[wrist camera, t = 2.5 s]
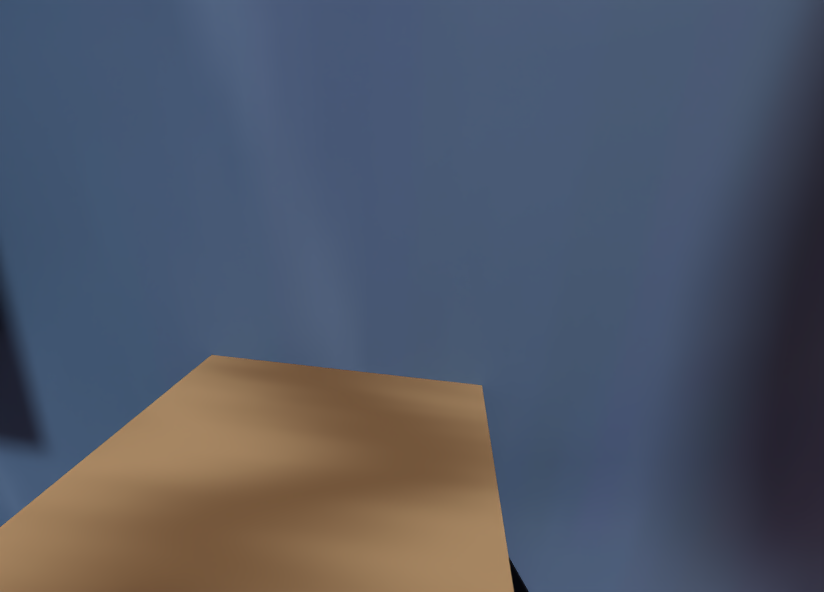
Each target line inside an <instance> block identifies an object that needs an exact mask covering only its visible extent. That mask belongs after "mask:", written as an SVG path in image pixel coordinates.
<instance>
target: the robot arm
mask: <svg viewBox="0 0 824 592" xmlns="http://www.w3.org/2000/svg"><path fill="white" fill-rule="evenodd" d="M508 557H509V556H508ZM509 564H510V570H511V576H512V583H513V589H514V592H528V590H527V588H526V586H525V584H524V583H523V581H522V579H521V577H520V576H519V574H518V572H517V570H516V569H515V567H514V565H513V563H512V562H511V560H510V558H509Z"/></svg>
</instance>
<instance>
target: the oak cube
mask: <svg viewBox="0 0 824 592" xmlns="http://www.w3.org/2000/svg"><path fill="white" fill-rule="evenodd" d="M0 592H514V589H513V583H512V576H511V570H510V564H509V557H508V551H507V544H506V538H505V531H504V525H503V519H502V512H501V506H500V499H499V493H498V486H497V480H496V474H495V467H494V461H493V454H492V448H491V442H490V435H489V429H488V422H487V416H486V409H485V403H484V397H483V390H482V385H473V384H465V383H456V382H447V381H438V380H429V379H420V378H411V377H402V376H394V375H385V374H376V373H367V372H358V371H349V370H340V369H331V368H323V367H314V366H305V365H296V364H287V363H278V362H269V361H260V360H252V359H243V358H234V357H225V356H216V355H211V356H210V357H209V358H207V359H206V360H205V361H204V362H202V363H201V364H200V365H199V366H198V367H196V368H195V369H194V370H193V371H191V372H190V373H189V374H188V375H186V376H185V377H184V378H183V379H182V380H180V381H179V382H178V383H177V384H175V385H174V386H173V387H172V388H171V389H169V390H168V391H167V392H166V393H164V394H163V395H162V396H161V397H159V398H158V399H157V400H156V401H155V402H153V403H152V404H151V405H150V406H148V407H147V408H146V409H145V410H144V411H142V412H141V413H140V414H139V415H137V416H136V417H135V418H134V419H132V420H131V421H130V422H129V423H128V424H126V425H125V426H124V427H123V428H121V429H120V430H119V431H118V432H117V433H115V434H114V435H113V436H112V437H110V438H109V439H108V440H107V441H105V442H104V443H103V444H102V445H101V446H99V447H98V448H97V449H96V450H94V451H93V452H92V453H91V454H90V455H88V456H87V457H86V458H85V459H83V460H82V461H81V462H80V463H79V464H77V465H76V466H75V467H74V468H72V469H71V470H70V471H69V472H67V473H66V474H65V475H64V476H63V477H61V478H60V479H59V480H58V481H56V482H55V483H54V484H53V485H52V486H50V487H49V488H48V489H47V490H45V491H44V492H43V493H42V494H40V495H39V496H38V497H37V498H36V499H34V500H33V501H32V502H31V503H29V504H28V505H27V506H26V507H25V508H23V509H22V510H21V511H20V512H18V513H17V514H16V515H15V516H13V517H12V518H11V519H10V520H9V521H7V522H6V523H5V524H4V525H2V526H1V527H0Z"/></svg>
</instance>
